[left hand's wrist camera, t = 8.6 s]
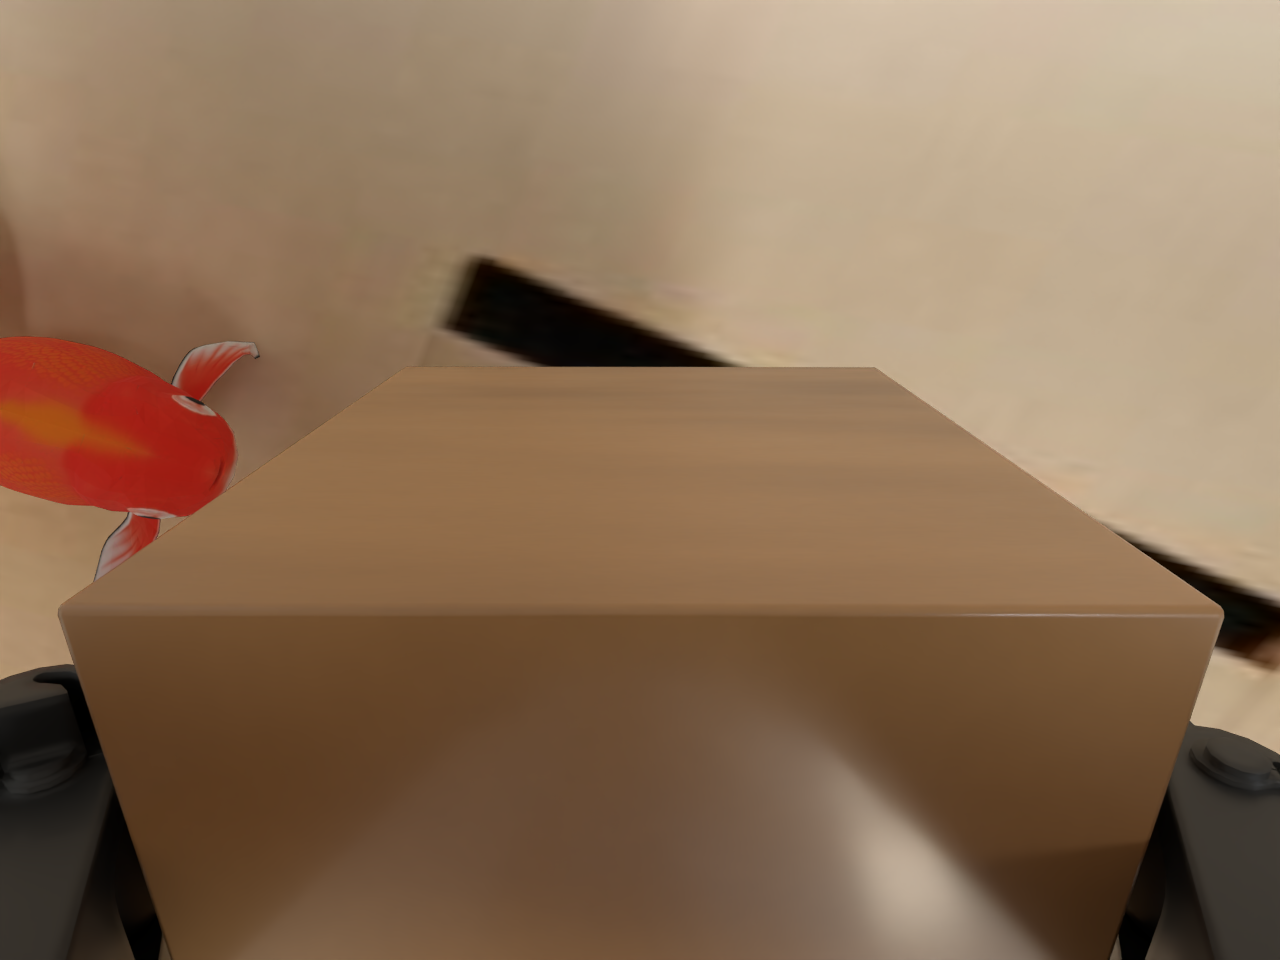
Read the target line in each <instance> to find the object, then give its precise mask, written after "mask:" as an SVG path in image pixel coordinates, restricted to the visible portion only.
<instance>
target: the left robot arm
mask: <svg viewBox="0 0 1280 960" xmlns="http://www.w3.org/2000/svg"><path fill="white" fill-rule="evenodd" d="M0 960H171V958H170V955H169V952H168V949H167V946H166V943H165V940H164V937H163V934H162V931H161V928H160V925H159V922H158V918H157V915H156V912H155V909H154V906H153V903H152V900H151V897H150V894H149V891H148V888H147V885H146V882H145V879H144V876H143V873H142V870H141V867H140V864H139V861H138V858H137V855H136V852H135V848H134V845H133V842H132V839H131V836H130V833H129V830H128V827H127V824H126V821H125V818H124V815H123V812H122V809H121V806H120V803H119V800H118V797H117V794H116V791H115V788H114V785H113V781H112V778H111V775H110V772H109V769H108V766H107V763H106V760H105V757H104V754H103V751H102V748H101V745H100V742H99V739H98V736H97V733H96V730H95V727H94V724H93V721H92V718H91V715H90V711H89V708H88V705H87V702H86V699H85V696H84V693H83V690H82V687H81V684H80V681H79V678H78V675H77V672H76V669H75V666H74V665H70V664H65V665H57V666H50V667H42V668H37V669H34V670H30V671H27V672H23V673H20V674H16V675H13V676H9V677H7V678H4V679H2V680H0ZM1110 960H1280V755H1279V754H1277V753H1276V752H1274V751H1272V750H1270V749H1268V748H1266V747H1264V746H1262V745H1260V744H1258V743H1256V742H1254V741H1252V740H1250V739H1248V738H1245V737H1242V736H1239V735H1236V734H1232V733H1229V732H1226V731H1223V730H1220V729H1215V728H1208V727H1201V726H1195V725H1194V724H1192V723H1191V722H1190V721H1189V724H1188V727H1187V730H1186V733H1185V736H1184V739H1183V742H1182V745H1181V748H1180V751H1179V754H1178V757H1177V760H1176V763H1175V766H1174V769H1173V772H1172V775H1171V778H1170V781H1169V784H1168V787H1167V790H1166V793H1165V796H1164V799H1163V802H1162V805H1161V808H1160V811H1159V814H1158V817H1157V820H1156V823H1155V826H1154V829H1153V832H1152V835H1151V838H1150V841H1149V844H1148V847H1147V850H1146V853H1145V856H1144V859H1143V862H1142V865H1141V868H1140V871H1139V874H1138V877H1137V880H1136V883H1135V886H1134V888H1133V891H1132V894H1131V897H1130V900H1129V903H1128V906H1127V909H1126V912H1125V915H1124V918H1123V921H1122V924H1121V927H1120V930H1119V933H1118V936H1117V939H1116V942H1115V945H1114V948H1113V951H1112V954H1111V957H1110Z"/></svg>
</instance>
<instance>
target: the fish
mask: <svg viewBox="0 0 1280 960" xmlns="http://www.w3.org/2000/svg"><path fill="white" fill-rule="evenodd" d="M250 354H251V355H252V356H253V357H254V358H255V359H256V358H258V357H260V356H259V353H258V350H257V348H256V345H255V343H253V342H235V341H227V342H221V343H215V344H209V345H203V346H200V347H197V348H194V349H192V350H191V351H189V352H188V354H187V355H186V356H185V357H184V359H183V360H182V362H181V364H180V365H179V367H178V369H177V371H176V373H175V375H174V377H173V380H172V383H171V384H169V383H167V382H165V381H163V380H162V379H161V378H160V377H158V376H156V375H155V374H153V373H152V372H150V371H148V370H146V369H144V368H142V367H140V366H138V365H136V364H134V363H132V362H130V361H128V360H127V359H124V358H122V357H120V356H118V355H116V354H113V353H111V352H108V351H105V350H103V349H100V348H97V347H93V346H89V345H85V344H80V343H75V342H70V341H66V340H61V339H55V338H45V337H26V336H22V337H7V338H0V485H1V486H4V487H6V488H9V489H12V490H15V491H18V492H21V493H25V494H28V495H32V496H35V497H39V498H43V499H46V500H50V501H54V502H57V503H62V504H67V505H86V506H96V507H100V508H103V509H107V510H111V511H122V512H128V515H127V517H126V519H125V520H124V521H123V523H122V524H121V525H120V526H119V527H118V528H117V529H116V530H115V531H114V532H113V533H112V534H111V535H110V536H109V537H108V539H107V540H106V542H105V544H104V546H103V549H102V551H101V555H100V559H99V563H98V567H97V571H96V575H95V578H94V581H93V582H95V581H96V580H98V579H99V578H100V577H102V576H103V575H105V574H106V573H108V572H109V571H111V570H112V569H113V568H115V567H116V566H118V565H119V564H121V563H122V562H124V561H125V560H127V559H128V558H129V557H131V556H132V555H134V554H135V553H137V552H138V551H140V550H141V549H142V548H144V547H145V546H147V545H148V544H150V543H151V542H153V541H154V540H156V538H157V536H158V534H159V528H160V520H161V519H164V518H171V517H181V516H189V515H191V514H193V513H195V512H196V511H198V510H199V509H201V508H202V507H203V506H205V505H206V504H208V503H209V502H211V501H212V500H214V499H215V498H216V497H218V496H219V495H221V494H222V493H224V492H225V491H226V489H227V488H228V486H229V484H230V483H231V481H232V479H233V477H234V475H235V470H236V465H237V460H238V451H237V446H236V442H235V437H234V432H233V430H232V429H231V428H230V426H229V425H228V424H227V422H226V421H225V420H224V419H223V418H222V417H221V416H220V415H219V414H218V413H216V412H214V411H213V410H211V409H210V408H209V407H207V406H206V405H205V404H204V403H202V402H201V401H202V399H203V398H204V397H205V395H206V394H207V393H208V392H209V390H210V389H211V388H212V386H213V385H214V384H215V382H216V381H217V380H218V379H219V378H220V377H221V376H223V375H224V374H225V373H226V371H227V370H228V369H229V368H230V367H231V366H232V365H233V364H234V362H236V361H237V360H238V359H240V358H241V357H242V356H244V355H250Z"/></svg>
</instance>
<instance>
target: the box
mask: <svg viewBox="0 0 1280 960" xmlns="http://www.w3.org/2000/svg"><path fill="white" fill-rule="evenodd" d="M58 617H59V620H60V623H61V626H62V629H63V632H64V635H65V638H66V641H67V644H68V648H69V651H70V654H71V657H72V660H73V663H74V666H75V669H76V672H77V675H78V678H79V681H80V684H81V687H82V690H83V693H84V696H85V699H86V702H87V705H88V708H89V711H90V715H91V718H92V721H93V724H94V727H95V730H96V733H97V736H98V739H99V742H100V745H101V748H102V751H103V754H104V757H105V760H106V763H107V766H108V769H109V772H110V775H111V778H112V781H113V785H114V788H115V791H116V794H117V797H118V800H119V803H120V806H121V809H122V812H123V815H124V818H125V821H126V824H127V827H128V830H129V833H130V836H131V839H132V842H133V845H134V848H135V852H136V855H137V858H138V861H139V864H140V867H141V870H142V873H143V876H144V879H145V882H146V885H147V888H148V891H149V894H150V897H151V900H152V903H153V906H154V909H155V912H156V915H157V918H158V922H159V925H160V928H161V931H162V934H163V937H164V940H165V943H166V946H167V949H168V952H169V955H170V958H171V960H1110V957H1111V954H1112V951H1113V948H1114V945H1115V942H1116V939H1117V936H1118V933H1119V930H1120V927H1121V924H1122V921H1123V918H1124V915H1125V912H1126V909H1127V906H1128V903H1129V900H1130V897H1131V894H1132V891H1133V888H1134V886H1135V883H1136V880H1137V877H1138V874H1139V871H1140V868H1141V865H1142V862H1143V859H1144V856H1145V853H1146V850H1147V847H1148V844H1149V841H1150V838H1151V835H1152V832H1153V829H1154V826H1155V823H1156V820H1157V817H1158V814H1159V811H1160V808H1161V805H1162V802H1163V799H1164V796H1165V793H1166V790H1167V787H1168V784H1169V781H1170V778H1171V775H1172V772H1173V769H1174V766H1175V763H1176V760H1177V757H1178V754H1179V751H1180V748H1181V745H1182V742H1183V739H1184V736H1185V733H1186V730H1187V727H1188V724H1189V721H1190V718H1191V715H1192V712H1193V709H1194V706H1195V703H1196V700H1197V697H1198V694H1199V691H1200V688H1201V685H1202V682H1203V679H1204V676H1205V673H1206V670H1207V667H1208V664H1209V661H1210V658H1211V655H1212V652H1213V649H1214V646H1215V643H1216V640H1217V637H1218V634H1219V631H1220V628H1221V625H1222V622H1223V619H1224V611H1223V609H1222V608H1221V606H1219V605H1218V604H1216V603H1215V602H1214V601H1212V600H1211V599H1209V598H1208V597H1206V596H1205V595H1203V594H1202V593H1200V592H1199V591H1198V590H1196V589H1195V588H1193V587H1192V586H1190V585H1189V584H1187V583H1186V582H1185V581H1183V580H1182V579H1180V578H1179V577H1177V576H1176V575H1174V574H1173V573H1172V572H1170V571H1169V570H1167V569H1166V568H1164V567H1163V566H1161V565H1160V564H1159V563H1157V562H1156V561H1154V560H1153V559H1151V558H1150V557H1148V556H1147V555H1146V554H1144V553H1143V552H1141V551H1140V550H1138V549H1137V548H1135V547H1134V546H1132V545H1131V544H1130V543H1128V542H1127V541H1125V540H1124V539H1122V538H1121V537H1119V536H1118V535H1117V534H1115V533H1114V532H1112V531H1111V530H1109V529H1108V528H1106V527H1105V526H1104V525H1102V524H1101V523H1099V522H1098V521H1096V520H1095V519H1093V518H1092V517H1091V516H1089V515H1088V514H1086V513H1085V512H1083V511H1082V510H1080V509H1079V508H1078V507H1076V506H1075V505H1073V504H1072V503H1070V502H1069V501H1067V500H1066V499H1065V498H1063V497H1062V496H1060V495H1059V494H1057V493H1056V492H1054V491H1053V490H1051V489H1050V488H1049V487H1047V486H1046V485H1044V484H1043V483H1041V482H1040V481H1038V480H1037V479H1036V478H1034V477H1033V476H1031V475H1030V474H1028V473H1027V472H1025V471H1024V470H1023V469H1021V468H1020V467H1018V466H1017V465H1015V464H1014V463H1012V462H1011V461H1010V460H1008V459H1007V458H1005V457H1004V456H1002V455H1001V454H999V453H998V452H997V451H995V450H994V449H992V448H991V447H989V446H988V445H986V444H985V443H984V442H982V441H981V440H979V439H978V438H976V437H975V436H973V435H972V434H970V433H969V432H968V431H966V430H965V429H963V428H962V427H960V426H959V425H957V424H956V423H955V422H953V421H952V420H950V419H949V418H947V417H946V416H944V415H943V414H942V413H940V412H939V411H937V410H936V409H934V408H933V407H931V406H930V405H929V404H927V403H926V402H924V401H923V400H921V399H920V398H918V397H917V396H916V395H914V394H913V393H911V392H910V391H908V390H907V389H905V388H904V387H902V386H901V385H900V384H898V383H897V382H895V381H894V380H892V379H891V378H889V377H888V376H887V375H885V374H884V373H882V372H881V371H879V370H878V369H876V368H859V367H405V368H404V369H402V370H401V371H399V372H398V373H396V374H395V375H393V376H392V377H391V378H389V379H388V380H386V381H385V382H383V383H382V384H380V385H379V386H378V387H376V388H375V389H373V390H372V391H370V392H369V393H367V394H366V395H364V396H363V397H362V398H360V399H359V400H357V401H356V402H354V403H353V404H351V405H350V406H348V407H347V408H346V409H344V410H343V411H341V412H340V413H338V414H337V415H335V416H334V417H333V418H331V419H330V420H328V421H327V422H325V423H324V424H322V425H321V426H319V427H318V428H317V429H315V430H314V431H312V432H311V433H309V434H308V435H306V436H305V437H304V438H302V439H301V440H299V441H298V442H296V443H295V444H293V445H292V446H290V447H289V448H288V449H286V450H285V451H283V452H282V453H280V454H279V455H277V456H276V457H275V458H273V459H272V460H270V461H269V462H267V463H266V464H264V465H263V466H261V467H260V468H259V469H257V470H256V471H254V472H253V473H251V474H250V475H248V476H247V477H245V478H244V479H243V480H241V481H240V482H238V483H237V484H235V485H234V486H232V487H231V488H230V489H228V490H227V491H225V492H224V493H222V494H221V495H219V496H218V497H216V498H215V499H214V500H212V501H211V502H209V503H208V504H206V505H205V506H203V507H202V508H201V509H199V510H198V511H196V512H195V513H193V514H192V515H190V516H189V517H187V518H186V519H185V520H183V521H182V522H180V523H179V524H177V525H176V526H174V527H173V528H172V529H170V530H169V531H167V532H166V533H164V534H163V535H161V536H160V537H158V538H157V539H156V540H154V541H153V542H151V543H150V544H148V545H147V546H145V547H144V548H142V549H141V550H140V551H138V552H137V553H135V554H134V555H132V556H131V557H129V558H128V559H127V560H125V561H124V562H122V563H121V564H119V565H118V566H116V567H115V568H113V569H112V570H111V571H109V572H108V573H106V574H105V575H103V576H102V577H100V578H99V579H98V580H96V581H95V582H93V583H92V584H90V585H89V586H87V587H86V588H84V589H83V590H82V591H80V592H79V593H77V594H76V595H74V596H73V597H71V598H70V599H69V600H67V601H66V602H64V603H63V604H61V606H60V607H59V609H58Z"/></svg>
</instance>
